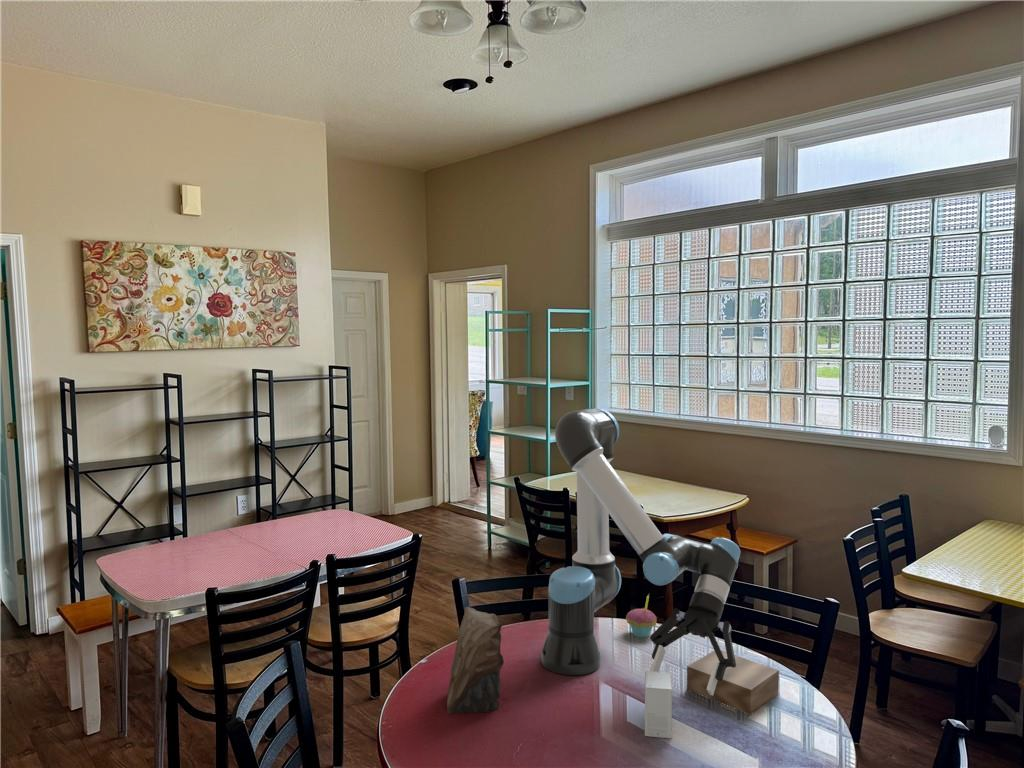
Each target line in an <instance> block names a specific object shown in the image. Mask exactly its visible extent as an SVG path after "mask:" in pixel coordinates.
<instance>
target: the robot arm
mask: <svg viewBox="0 0 1024 768" xmlns="http://www.w3.org/2000/svg"><path fill="white" fill-rule="evenodd" d="M554 436H555V437H554V438H555V443H556V445H557V447H558V450H559V452H560V454H561V456H562V457H563V459H564V460H565V462H566V463H567V465H568V466H569V467H570V469H571V470H572V471H573V472H576V515H577V516H576V517H577V519H576V520H577V526H576V527H577V550H576V552H575V553H574V554H573V555H572V557H571V558H572V566H571V565H570V566H566V567H561V568H558V569H556V570H554V571H553V572H552V574H551V575H550V576H549V581H548V582H549V583H548V587H547V591H548V592H547V594H548V632H547V634H546V639H545V642H544V644H543V647H542V650H541V660H540V661H541V664H542V666H543V667H544V668H545V669H547V670H549V671H551V672H553V673H556V674H559V675H566V676H582V675H587V674H592V673H593V672H595V671H597V670H598V669H599V668H600V666H601V653H600V651H599V647H598V644H597V641H596V636H595V633H594V631H595V629H594V627H595V626H594V625H595V612H597V611H599V610H600V609H601V608H602V607H604V606H606V605H607V604H609V603H610V602H611V601H612V600H614V599H615V597H616V596H617V595H618V593H619V591H620V589H621V588H622V587H621V585H622V576H621V572H620V569H619V567H617V565H616V558H615V556H614V555H613V554H612V552H611V551H610V529H609V528H610V524H609V523H610V521H609V520H610V519H609V517H611V519H612V520H613V522H614V523H615V525H616V526H617V527H618V528H619V530H620V531H621V532H622V535H624V537H625V538H626V540H627V541H628V542H629V544H630V545H631V547H632V548H633V549H634V550H635V551H636V553H637V555H638V556H639V558H640V559H641V561H642V562H643V563H642V569H643V570H642V571H643V574H644V576H645V578H646V580H647V581H649V582H650V583H651V584H653V585H655V586H664V585H665V586H666V585H668V584H669V583H672V582H673V581H675V580H676V579H677V577H678V576H680V575H682V573H683V572H685V571H690V572H693V573H696V574H699V576H698V580H697V582H696V585H695V587H694V591H693V592H694V593H693V594H692V596H691V599H690V602H689V605H688V609H687V610H686V612H683V611H680V609H679V608H678V607H676V608H674V609H673V611H672V613H671V615H670V616H669V617H668V618H667V619H666V620H664V621H663V623H661V625H660V626H659V627H658V628H657V629H655V630H654V631H653V632H652V634H650V635H649V639H650V641H651V642H652V643H653V645H654V648H653V651H652V653H651V659H652V660H653V661H652V664H651V666H650V669H649V671H653V672H660V670H661V669H660V668H661V666H662V664H663V660H664V658H665V653H666V652H667V650H666V649H665V648H666V647H668V646H669V645H671V644H672V643H674V642H675V641H677V640H680V638H682V637H684V636H687V635H689V634H691V635H692V636H699V637H700V638H703V639H705V638H708V639H709V641H710V644H711V646H712V649H713V651H715V653H716V655H717V657H718V659H719V662H716V661H715V663H714V667H713V670H712V673H711V676H710V679H709V682H708V686H707V689H706V690H707V691H708V693H709V694H710V695H712V696H713V694H714V691H715V688H716V685H717V681H718V680H719V681H722V679H723V676H724V673H725V670H726V668H727V667H733V668H734V667H736V661H735V656H734V655H735V651H734V646H733V639H732V630H733V628H732V626H731V623H730V622H729V621H728V620H725V621H720V619H721V617H722V615H723V611H724V607H725V604H726V602H727V600H728V599H727V598H728V595H729V593H730V588H731V586H732V583H733V580H734V577H735V575H736V574H735V573H736V571H737V569H738V566H739V560H740V556H741V554H742V553H741V549H740V547H739V545H738V544H737V543H735V542H734V541H732V540H731V539H729V538H725V537H714V538H713V539H712V540H711V541H710V543H704V542H700V541H696V540H693V539H690V538H687V537H686V538H685V537H683V536H680V535H678V534H671V533H664V534H662V533H661V532H660V530H659V529H658V527H657V526H656V525H655V523H654V522H653V520H652V519H651V517H650V516H649V515H648V513H646V511H645V509H643V507H642V506H641V504H640V503H639V501H638V500H637V499H636V497H635V496H634V495H633V494H632V492H631V491H630V490H629V488H628V486H626V484H625V482H624V481H623V480H622V478H621V477H620V476H619V474H618V473H617V472H616V470H615V469H614V468H613V466H612V465H611V464H610V462H611V461H613V459H614V445H616V442H617V441H618V439H619V436H620V426H619V423H618V420H617V419H616V417H614V416H613V414H611V412H609V410H606V409H602V408H594V407H593V408H586V409H585V408H584V409H580V410H573V411H569V412H567V413H565V414H564V415H563V416H561V417H560V419H559V420H558V422H557V423H556V426H555V432H554ZM683 619H684V621H682V620H683ZM681 621H682V622H681ZM679 622H681V623H680V624H679V625H678V623H679ZM677 625H678V626H677ZM674 627H675V628H674ZM719 629H720V631H721V632H722V636H723V640H724V641H723V642H724V647H725V652H726V653H727V658H728V659H725V658H724V656H723V654H722V652H721V651H722V650H721V648H720V645H719V643H718V641H717V638H716V636H715V634H714V632H716V631H717V630H719Z"/></svg>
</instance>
